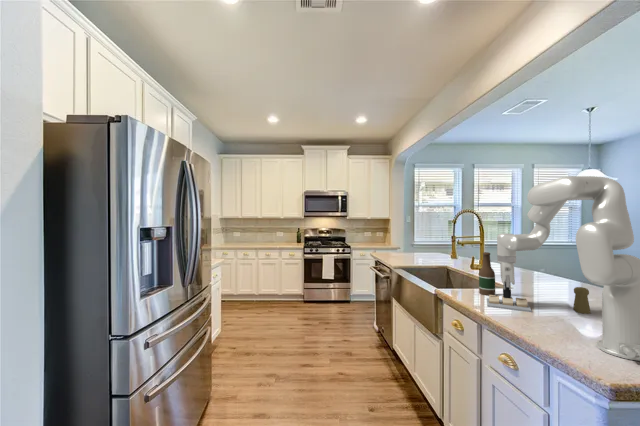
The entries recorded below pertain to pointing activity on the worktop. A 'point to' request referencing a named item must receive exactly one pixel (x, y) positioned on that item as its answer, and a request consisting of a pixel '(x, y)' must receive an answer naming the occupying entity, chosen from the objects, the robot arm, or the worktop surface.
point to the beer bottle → (486, 277)
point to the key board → (514, 307)
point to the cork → (581, 300)
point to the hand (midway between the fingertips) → (507, 297)
